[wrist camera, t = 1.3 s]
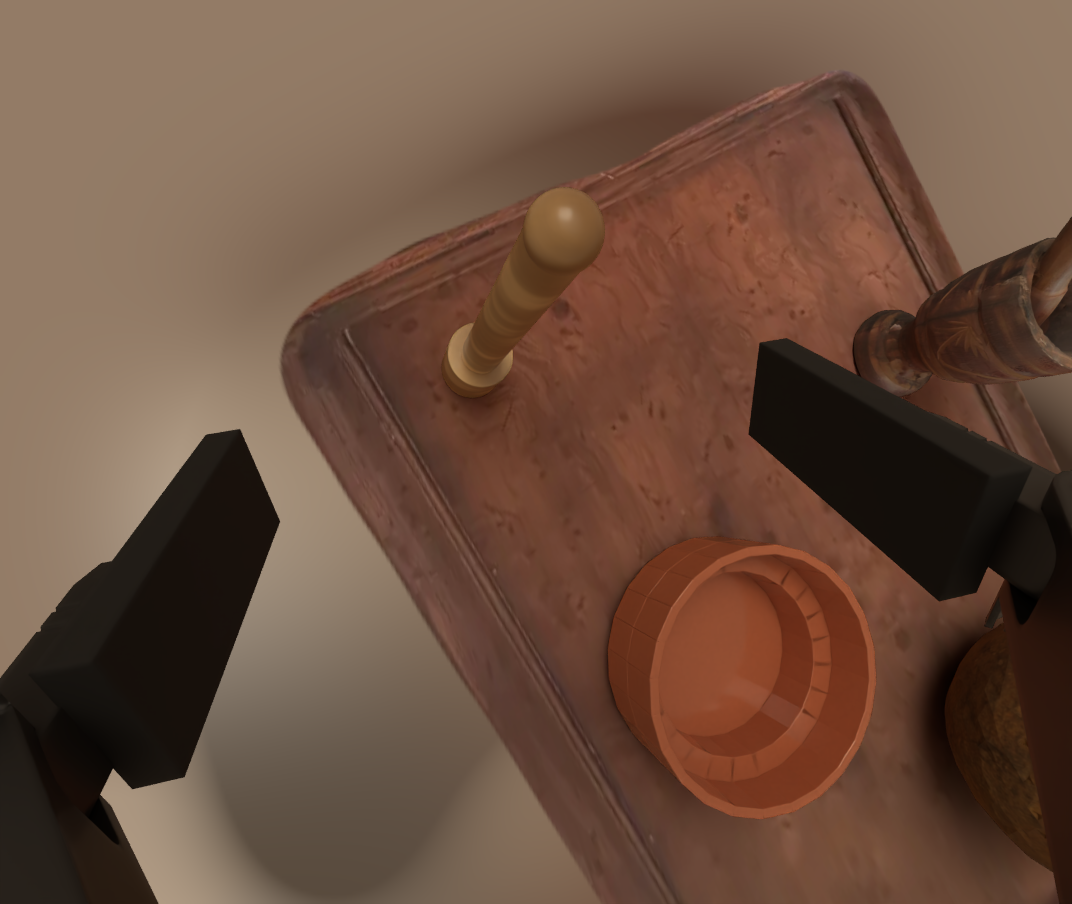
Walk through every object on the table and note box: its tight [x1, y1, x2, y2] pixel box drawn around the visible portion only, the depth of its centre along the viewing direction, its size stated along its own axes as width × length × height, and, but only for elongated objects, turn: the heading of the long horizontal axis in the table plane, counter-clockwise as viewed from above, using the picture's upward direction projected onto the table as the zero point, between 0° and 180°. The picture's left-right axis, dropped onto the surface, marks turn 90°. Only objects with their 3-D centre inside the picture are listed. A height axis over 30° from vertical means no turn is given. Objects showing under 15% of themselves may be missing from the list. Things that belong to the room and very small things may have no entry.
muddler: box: [442, 187, 605, 398], centre depth 26 cm, size 4×4×21 cm
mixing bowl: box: [608, 536, 876, 819], centre depth 36 cm, size 16×16×7 cm
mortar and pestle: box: [854, 217, 1072, 397], centre depth 36 cm, size 12×9×20 cm
